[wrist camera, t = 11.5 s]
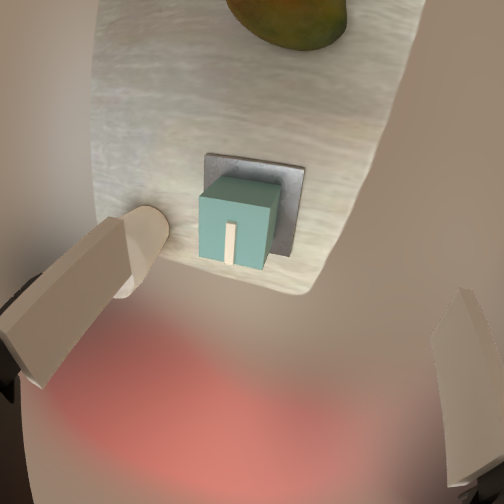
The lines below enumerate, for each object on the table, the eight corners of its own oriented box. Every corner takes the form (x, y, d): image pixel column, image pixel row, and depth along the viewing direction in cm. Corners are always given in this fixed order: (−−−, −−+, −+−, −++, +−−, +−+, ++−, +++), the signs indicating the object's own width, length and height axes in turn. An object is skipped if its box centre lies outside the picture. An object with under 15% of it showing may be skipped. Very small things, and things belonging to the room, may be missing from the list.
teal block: (220, 175, 37) (196, 198, 31) (281, 185, 36) (269, 210, 30) (218, 228, 41) (197, 259, 35) (273, 239, 40) (261, 273, 34)
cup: (123, 237, 48) (79, 281, 38) (129, 189, 43) (77, 227, 33) (171, 259, 48) (133, 310, 38) (182, 211, 43) (138, 257, 33)
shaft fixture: (207, 153, 37) (187, 167, 32) (304, 167, 35) (300, 184, 30) (205, 236, 44) (189, 259, 39) (290, 252, 42) (283, 279, 37)
